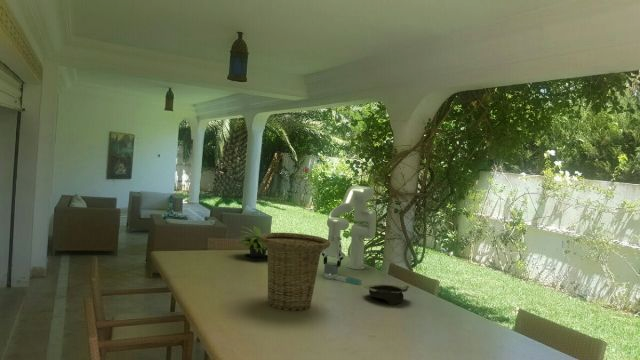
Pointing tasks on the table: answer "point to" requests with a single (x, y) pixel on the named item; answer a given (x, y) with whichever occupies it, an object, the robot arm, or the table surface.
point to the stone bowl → (387, 292)
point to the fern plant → (254, 247)
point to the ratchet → (342, 278)
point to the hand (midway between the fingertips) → (331, 265)
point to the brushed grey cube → (330, 268)
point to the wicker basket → (292, 268)
